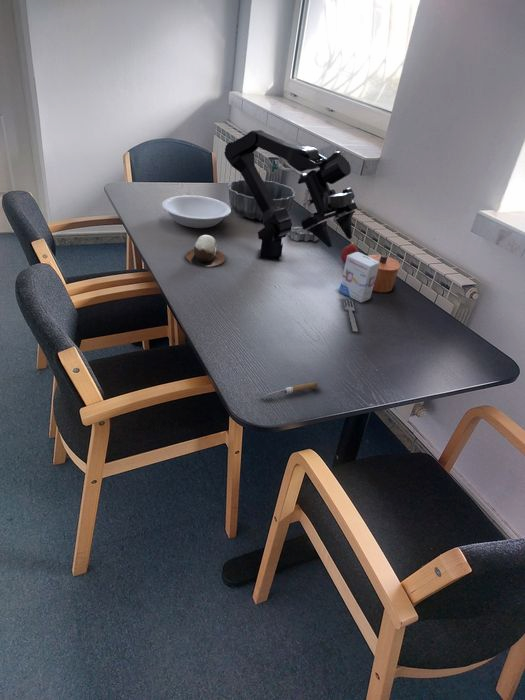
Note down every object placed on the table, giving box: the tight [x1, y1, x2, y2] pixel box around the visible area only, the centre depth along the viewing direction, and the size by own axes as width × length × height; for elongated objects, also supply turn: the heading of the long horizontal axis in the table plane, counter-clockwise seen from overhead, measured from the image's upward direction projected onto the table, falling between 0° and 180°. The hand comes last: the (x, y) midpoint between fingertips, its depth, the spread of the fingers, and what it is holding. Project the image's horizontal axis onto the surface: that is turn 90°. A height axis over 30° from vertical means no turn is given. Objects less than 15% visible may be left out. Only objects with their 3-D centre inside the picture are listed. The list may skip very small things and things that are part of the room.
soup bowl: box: [161, 194, 232, 229], centre depth 172 cm, size 24×24×7 cm
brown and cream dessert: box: [185, 234, 226, 267], centre depth 150 cm, size 12×10×10 cm
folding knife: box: [260, 381, 319, 399], centre depth 100 cm, size 14×2×2 cm, turn 115°
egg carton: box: [287, 226, 319, 242], centre depth 174 cm, size 11×8×4 cm
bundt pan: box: [226, 179, 297, 222], centre depth 188 cm, size 26×26×10 cm
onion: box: [340, 242, 360, 264], centre depth 157 cm, size 6×6×8 cm
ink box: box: [338, 251, 380, 304], centre depth 139 cm, size 8×5×12 cm, turn 45°
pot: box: [372, 269, 399, 293], centre depth 148 cm, size 10×10×7 cm
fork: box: [342, 299, 359, 334], centre depth 132 cm, size 17×3×1 cm, turn 178°
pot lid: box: [367, 254, 402, 271], centre depth 145 cm, size 11×11×3 cm
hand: (340, 242), depth 139 cm, fingers open, 9 cm apart
